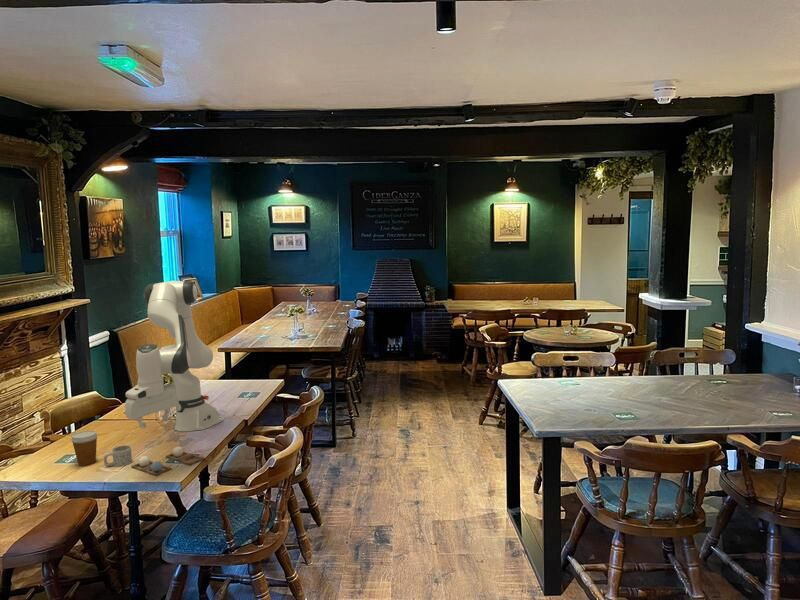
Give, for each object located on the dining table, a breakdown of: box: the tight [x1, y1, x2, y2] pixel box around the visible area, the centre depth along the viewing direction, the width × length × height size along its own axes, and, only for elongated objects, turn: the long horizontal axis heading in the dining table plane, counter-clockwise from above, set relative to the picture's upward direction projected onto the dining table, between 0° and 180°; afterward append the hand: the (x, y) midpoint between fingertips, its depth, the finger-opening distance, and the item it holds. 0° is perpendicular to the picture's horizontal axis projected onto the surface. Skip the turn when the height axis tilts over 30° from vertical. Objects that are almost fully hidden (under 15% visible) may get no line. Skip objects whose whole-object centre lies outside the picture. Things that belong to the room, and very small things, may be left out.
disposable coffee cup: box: [70, 429, 99, 467], centre depth 237 cm, size 10×10×12 cm
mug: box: [103, 445, 133, 467], centre depth 234 cm, size 10×7×7 cm
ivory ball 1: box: [138, 455, 151, 467], centre depth 230 cm, size 4×4×4 cm
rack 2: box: [165, 450, 206, 466], centre depth 237 cm, size 16×7×1 cm, turn 56°
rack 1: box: [130, 460, 173, 477], centre depth 228 cm, size 16×7×1 cm, turn 56°
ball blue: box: [151, 460, 163, 472], centre depth 225 cm, size 4×4×4 cm
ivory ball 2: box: [172, 446, 184, 457], centre depth 239 cm, size 4×4×4 cm
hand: (154, 423), depth 224 cm, fingers open, 8 cm apart
